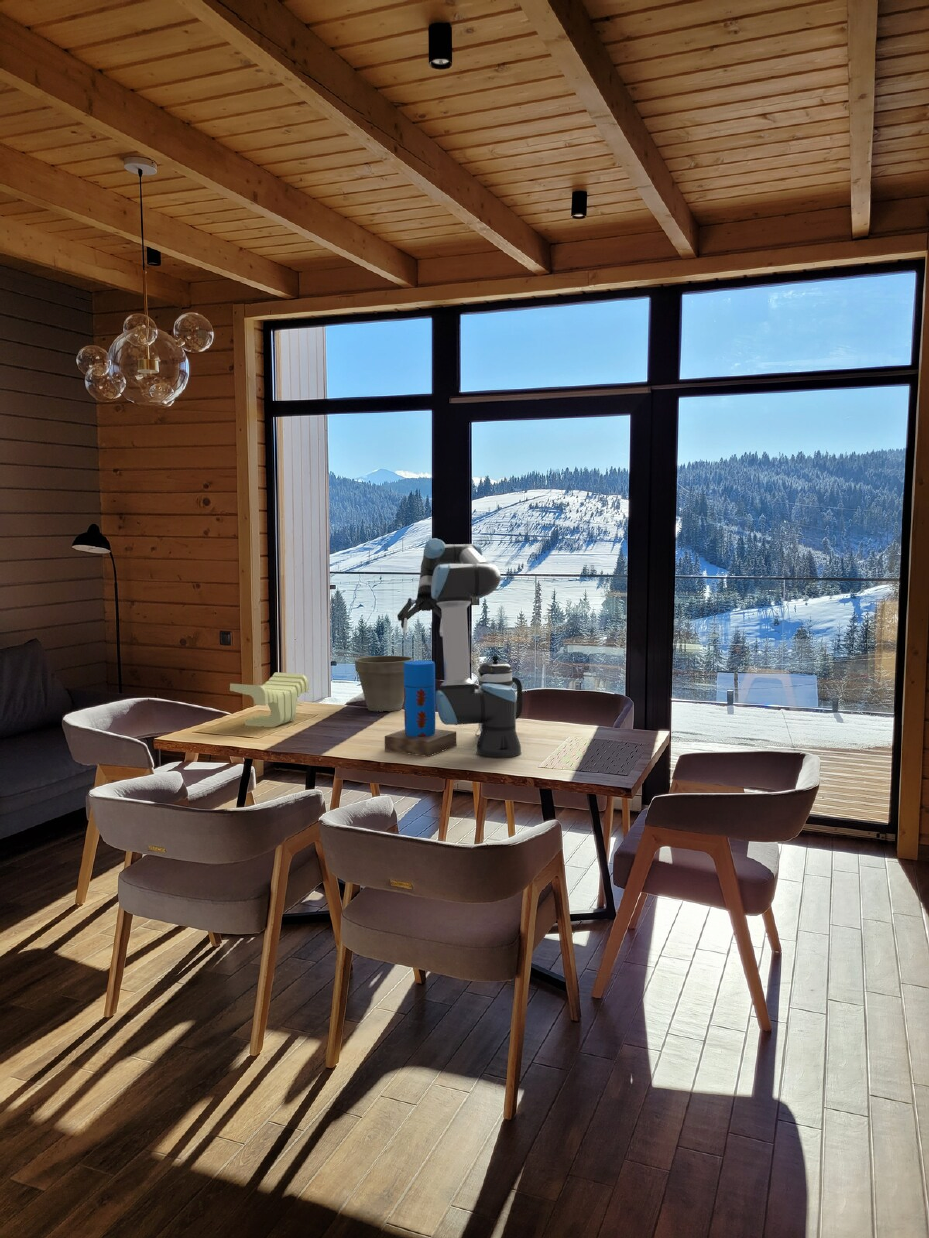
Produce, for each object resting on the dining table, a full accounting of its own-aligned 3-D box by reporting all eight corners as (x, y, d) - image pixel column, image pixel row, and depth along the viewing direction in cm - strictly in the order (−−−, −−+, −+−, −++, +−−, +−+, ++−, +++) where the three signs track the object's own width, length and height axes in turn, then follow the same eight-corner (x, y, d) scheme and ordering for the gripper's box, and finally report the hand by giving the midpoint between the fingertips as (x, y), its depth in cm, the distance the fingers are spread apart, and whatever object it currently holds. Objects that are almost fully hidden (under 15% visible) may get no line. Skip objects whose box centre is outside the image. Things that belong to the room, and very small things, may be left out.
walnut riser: (456, 745, 321) (456, 731, 320) (428, 756, 305) (428, 741, 305) (414, 739, 330) (413, 726, 329) (384, 750, 315) (384, 735, 314)
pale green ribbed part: (266, 732, 344) (264, 685, 343) (231, 729, 350) (229, 683, 349) (309, 717, 372) (308, 674, 370) (276, 714, 378) (275, 672, 376)
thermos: (406, 737, 311) (405, 665, 309) (402, 731, 322) (401, 660, 319) (438, 736, 313) (437, 663, 311) (433, 729, 324) (432, 659, 321)
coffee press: (515, 741, 326) (515, 658, 323) (471, 739, 329) (471, 657, 326) (522, 731, 343) (522, 652, 340) (480, 729, 346) (480, 651, 343)
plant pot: (362, 703, 403) (361, 654, 401) (417, 703, 400) (417, 654, 398) (350, 714, 378) (349, 662, 376) (408, 714, 376) (408, 662, 374)
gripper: (461, 597, 349) (457, 640, 335) (396, 597, 351) (390, 640, 338) (459, 583, 343) (455, 627, 330) (394, 584, 346) (387, 627, 332)
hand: (422, 634), depth 334 cm, fingers open, 13 cm apart
